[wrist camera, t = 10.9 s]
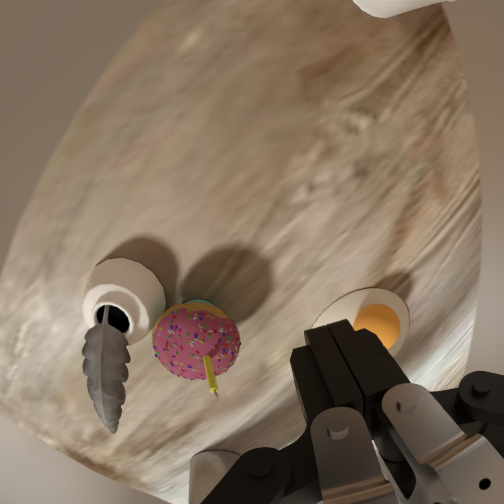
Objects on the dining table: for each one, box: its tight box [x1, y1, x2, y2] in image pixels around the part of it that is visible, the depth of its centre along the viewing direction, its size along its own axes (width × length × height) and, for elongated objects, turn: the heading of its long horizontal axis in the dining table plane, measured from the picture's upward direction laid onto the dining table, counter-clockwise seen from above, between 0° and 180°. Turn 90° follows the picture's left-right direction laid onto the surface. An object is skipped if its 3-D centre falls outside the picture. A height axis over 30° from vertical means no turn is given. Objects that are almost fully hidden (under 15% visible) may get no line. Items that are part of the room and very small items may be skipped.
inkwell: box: [82, 258, 166, 434], centre depth 29 cm, size 9×18×10 cm, turn 172°
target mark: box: [311, 288, 409, 358], centre depth 36 cm, size 14×14×1 cm
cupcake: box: [152, 299, 241, 398], centre depth 28 cm, size 9×8×12 cm
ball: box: [353, 304, 400, 349], centre depth 33 cm, size 6×6×6 cm
